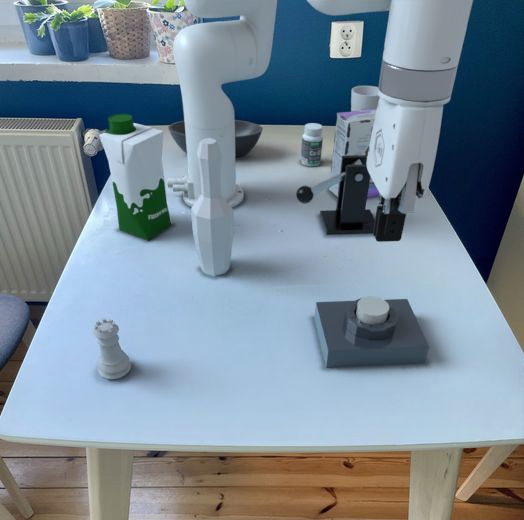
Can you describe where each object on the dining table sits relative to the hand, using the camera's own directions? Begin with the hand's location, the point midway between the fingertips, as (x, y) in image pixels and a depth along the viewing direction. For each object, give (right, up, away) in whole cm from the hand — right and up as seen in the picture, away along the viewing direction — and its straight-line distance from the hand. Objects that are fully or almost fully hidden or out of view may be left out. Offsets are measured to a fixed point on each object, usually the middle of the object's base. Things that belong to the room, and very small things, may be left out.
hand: (386, 237), depth 68 cm
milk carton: (-38, +9, +35) cm, 52 cm away
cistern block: (0, -13, +11) cm, 17 cm away
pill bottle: (-4, +30, +59) cm, 66 cm away
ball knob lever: (-3, +15, +32) cm, 35 cm away
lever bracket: (+1, +10, +37) cm, 38 cm away
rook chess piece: (-36, -17, +6) cm, 40 cm away
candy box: (+6, +20, +48) cm, 52 cm away
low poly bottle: (-24, 0, +25) cm, 34 cm away
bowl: (-27, +33, +62) cm, 75 cm away
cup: (+10, +39, +70) cm, 81 cm away
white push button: (0, -9, +8) cm, 13 cm away
